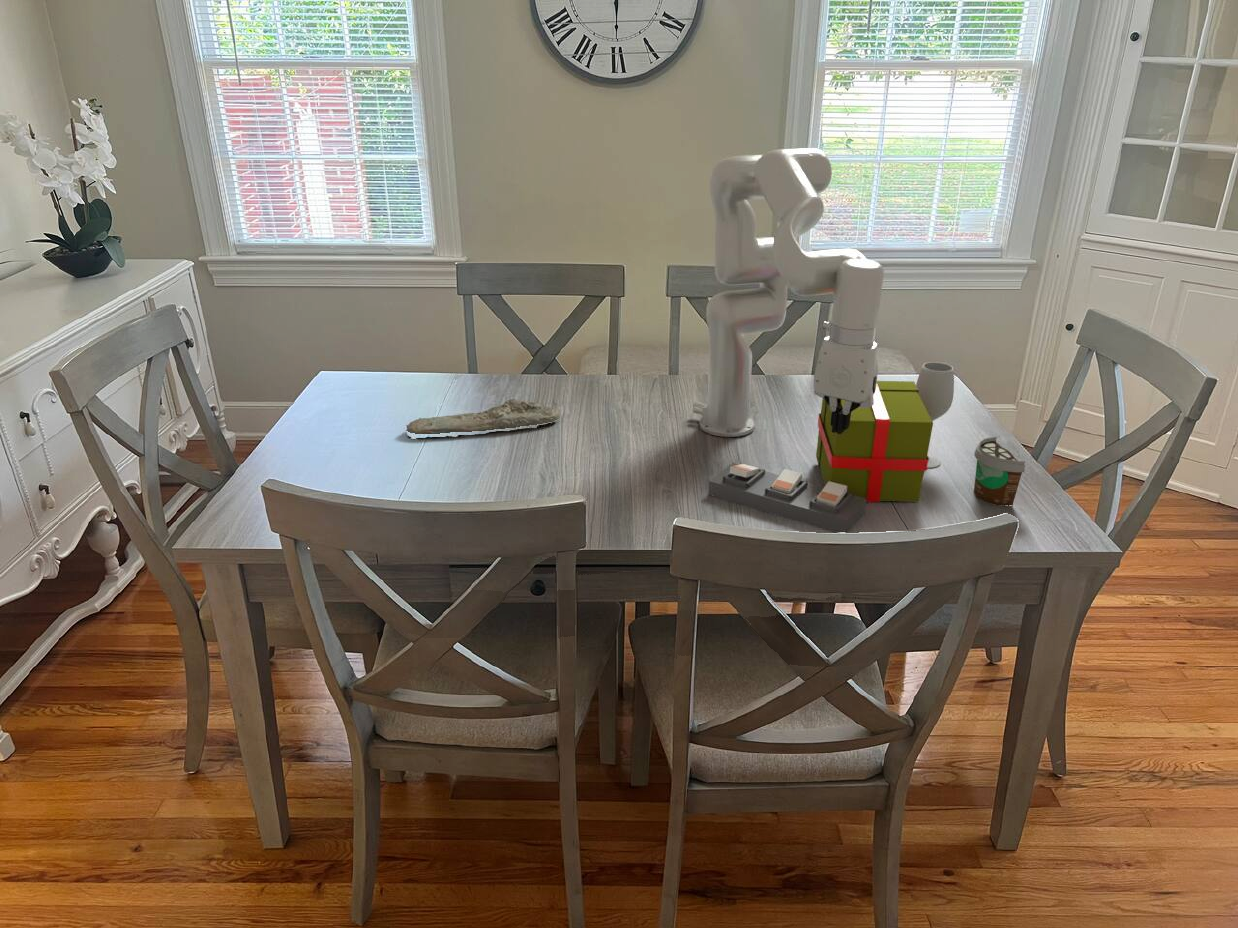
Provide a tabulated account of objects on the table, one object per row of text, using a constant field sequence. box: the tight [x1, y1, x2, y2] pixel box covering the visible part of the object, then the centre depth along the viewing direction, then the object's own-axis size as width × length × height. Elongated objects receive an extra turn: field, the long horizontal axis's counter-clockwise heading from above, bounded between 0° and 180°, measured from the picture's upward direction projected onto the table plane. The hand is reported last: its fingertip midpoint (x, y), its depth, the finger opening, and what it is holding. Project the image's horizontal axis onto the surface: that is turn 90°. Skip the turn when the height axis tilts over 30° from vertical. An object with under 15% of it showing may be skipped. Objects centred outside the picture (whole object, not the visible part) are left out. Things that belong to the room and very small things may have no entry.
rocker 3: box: [817, 481, 847, 507], centre depth 163 cm, size 4×6×1 cm, turn 146°
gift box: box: [815, 380, 934, 503], centre depth 176 cm, size 21×21×25 cm
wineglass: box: [915, 361, 955, 469], centre depth 182 cm, size 8×8×21 cm
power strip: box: [708, 462, 867, 533], centre depth 169 cm, size 28×10×4 cm, turn 56°
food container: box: [973, 436, 1026, 507], centre depth 170 cm, size 12×6×10 cm, turn 5°
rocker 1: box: [729, 463, 760, 477], centre depth 172 cm, size 4×6×1 cm, turn 146°
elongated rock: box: [405, 398, 560, 434], centre depth 203 cm, size 35×5×10 cm
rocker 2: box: [772, 468, 803, 494], centre depth 167 cm, size 4×6×1 cm, turn 146°
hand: (838, 430), depth 159 cm, fingers closed
